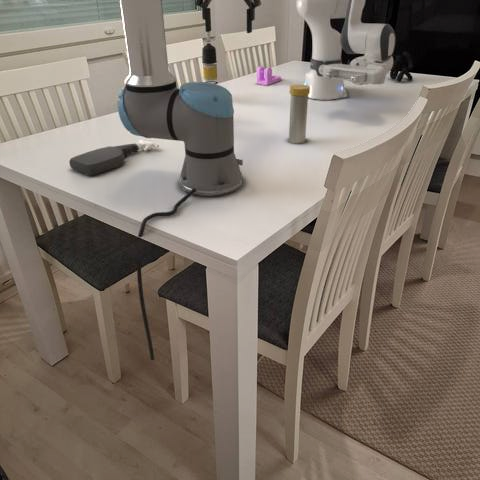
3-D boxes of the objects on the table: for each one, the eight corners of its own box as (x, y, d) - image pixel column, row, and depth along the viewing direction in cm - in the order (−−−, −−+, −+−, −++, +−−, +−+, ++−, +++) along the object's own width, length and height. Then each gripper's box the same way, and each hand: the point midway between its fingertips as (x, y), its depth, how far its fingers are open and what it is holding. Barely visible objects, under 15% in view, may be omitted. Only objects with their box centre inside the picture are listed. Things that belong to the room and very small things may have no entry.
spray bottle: (67, 168, 120) (139, 144, 136) (91, 178, 114) (163, 151, 130) (65, 157, 118) (137, 134, 134) (89, 167, 112) (162, 142, 128)
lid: (309, 91, 130) (309, 84, 129) (309, 96, 125) (309, 89, 124) (289, 90, 131) (290, 84, 130) (289, 95, 126) (289, 89, 125)
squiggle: (400, 92, 202) (376, 71, 205) (417, 76, 202) (392, 56, 205) (405, 81, 191) (380, 59, 194) (423, 64, 191) (397, 42, 194)
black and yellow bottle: (220, 99, 177) (217, 15, 161) (206, 100, 176) (202, 16, 160) (215, 96, 182) (212, 14, 166) (202, 97, 180) (197, 14, 164)
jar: (305, 138, 137) (308, 86, 129) (305, 143, 133) (308, 90, 125) (289, 137, 138) (291, 86, 130) (288, 143, 134) (290, 90, 126)
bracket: (267, 85, 196) (267, 68, 192) (256, 83, 199) (256, 67, 195) (282, 79, 205) (283, 63, 201) (272, 78, 208) (273, 62, 204)
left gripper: (272, -51, 127) (270, 31, 138) (192, -49, 134) (197, 29, 145) (264, -51, 121) (263, 34, 132) (181, -49, 128) (187, 32, 139)
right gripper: (336, 57, 154) (313, 63, 145) (391, 63, 142) (370, 70, 133) (334, 76, 157) (311, 83, 149) (388, 84, 145) (367, 92, 137)
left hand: (228, 32), depth 139 cm, fingers open, 13 cm apart
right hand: (339, 77), depth 141 cm, fingers open, 8 cm apart
